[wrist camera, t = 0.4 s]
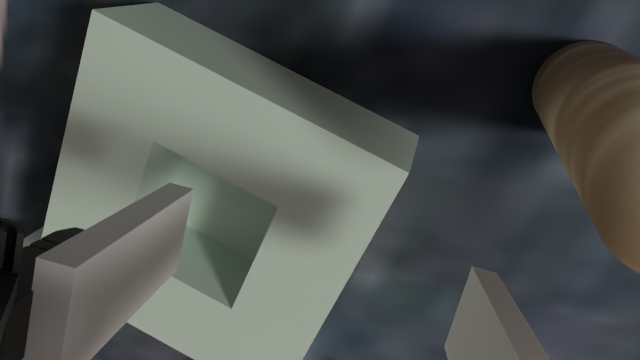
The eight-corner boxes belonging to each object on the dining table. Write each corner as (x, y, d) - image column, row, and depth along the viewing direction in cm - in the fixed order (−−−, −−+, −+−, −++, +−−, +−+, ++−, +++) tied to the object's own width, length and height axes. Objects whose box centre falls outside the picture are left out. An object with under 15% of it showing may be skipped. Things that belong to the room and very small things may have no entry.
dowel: (568, 23, 21) (674, 77, 11) (659, 67, 21) (862, 169, 10) (513, 109, 23) (556, 231, 12) (597, 151, 23) (715, 312, 12)
